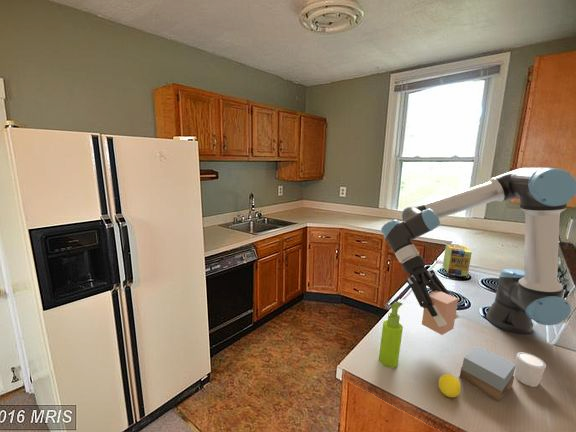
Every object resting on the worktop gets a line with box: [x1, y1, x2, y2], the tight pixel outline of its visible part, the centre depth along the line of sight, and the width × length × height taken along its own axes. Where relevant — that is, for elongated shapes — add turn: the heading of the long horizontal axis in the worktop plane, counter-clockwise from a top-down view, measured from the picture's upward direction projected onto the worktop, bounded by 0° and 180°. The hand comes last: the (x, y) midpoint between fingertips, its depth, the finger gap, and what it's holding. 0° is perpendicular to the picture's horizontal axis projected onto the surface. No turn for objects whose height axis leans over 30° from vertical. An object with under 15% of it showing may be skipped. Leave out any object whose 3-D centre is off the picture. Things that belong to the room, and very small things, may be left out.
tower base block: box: [459, 366, 515, 402], centre depth 83 cm, size 10×10×4 cm
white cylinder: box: [514, 351, 547, 388], centre depth 84 cm, size 7×7×7 cm
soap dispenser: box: [378, 301, 404, 369], centre depth 89 cm, size 6×7×20 cm
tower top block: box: [461, 344, 516, 392], centre depth 82 cm, size 10×10×4 cm
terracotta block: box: [421, 290, 459, 336], centre depth 93 cm, size 7×7×11 cm
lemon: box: [438, 373, 462, 398], centre depth 78 cm, size 7×5×5 cm
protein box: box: [442, 242, 472, 278], centre depth 168 cm, size 10×15×16 cm
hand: (449, 322), depth 90 cm, fingers closed on terracotta block, 7 cm apart
